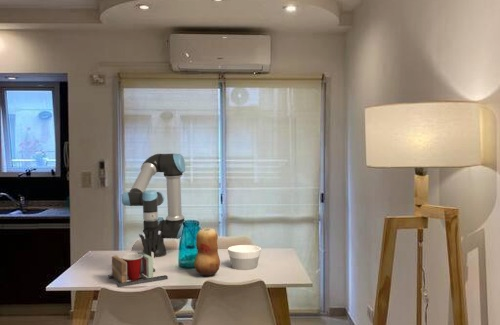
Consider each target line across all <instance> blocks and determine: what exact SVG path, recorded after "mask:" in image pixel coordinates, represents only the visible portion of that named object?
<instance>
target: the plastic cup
mask: <svg viewBox="0 0 500 325" xmlns="http://www.w3.org/2000/svg"><path fill="white" fill-rule="evenodd" d="M142 257H143V255H141V254H138V253H129V254H124V255H123V256H121V259H122V260H124V261H126V263H127V275H128V276H127V279H128V281H133V280H139V279H140V278H141V274H140V272H141V260H142Z"/></svg>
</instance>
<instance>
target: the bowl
mask: <svg viewBox="0 0 500 325" xmlns="http://www.w3.org/2000/svg"><path fill="white" fill-rule="evenodd" d="M227 252H228V256H229V259H230V265H231V268H232V269H234V270H238V271H250V270H255V269H257V267H258V263H259V259H260V256H261V252H262V248H261V246H258V245H254V244H238V245H231V246H229V247H228V248H227Z"/></svg>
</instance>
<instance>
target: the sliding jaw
mask: <svg viewBox="0 0 500 325" xmlns="http://www.w3.org/2000/svg"><path fill="white" fill-rule="evenodd" d="M137 254H141V255H143V257H142V260H141V272H140V273H142V274H141V275H144V276H145V277H146V278H151V277H154V272H153V268H154V265H153V257H151V256H149V255H147V254H145V253H143V252H142V251H138V252H137Z"/></svg>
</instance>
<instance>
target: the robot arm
mask: <svg viewBox="0 0 500 325" xmlns="http://www.w3.org/2000/svg"><path fill="white" fill-rule="evenodd" d="M185 171H186V162H185V157H184V156H183V155H182V154H181V153H157V154H156V153H155V154H153V155H151V156H149V157H148V158H146V159H145V161H144V162H143V163H142V164H141V167H140V172H139V174H138V175H137V176H136V179H135V181H134V183H133V184H132V187H131V188H130V190H129V191H126V192H123V193H122V195H121V203H122V205H123V206H127V207H142V211H143V212H142V215H143V216H142V217H143V219H142V220H143V224H142V225H143V230H142V232H141V233H138V236H139V238H140V240H141V243H142V248H143V249H142V251H141V252H143V253H145V254H147V255H149V256H151V257H153V266H154V265H155V258H157V257H158V258H159V257H163V256H166V255H167V248H166V245H165V242H164V240H165V239H169V240H170V239H173V240H174V239H176V240H177V239H180V237H181V233H182V229H183V222H185V221H187V222H188V220H187V219H185V216H184V215H183V214H182V210H183V209H182V192H181V191H182V189H181V188H182V187H181V177H183V173H185ZM157 173H163V177H164V178H165V179H166V180H165V181H166V199H167V201H166V202H167V203H166V204H167V216H165V219H164V217H159V214H158V212H159V210H158V207H159V206H161V205H162V204H163V203H164V202H165V196H164V194H163V193H162V192H160V191H157V190H154V189H153V190H150V189H149V190H147V188H148V186H149V184H150V182H151V180H152V178H153V176H155V175H156V174H157Z"/></svg>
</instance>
